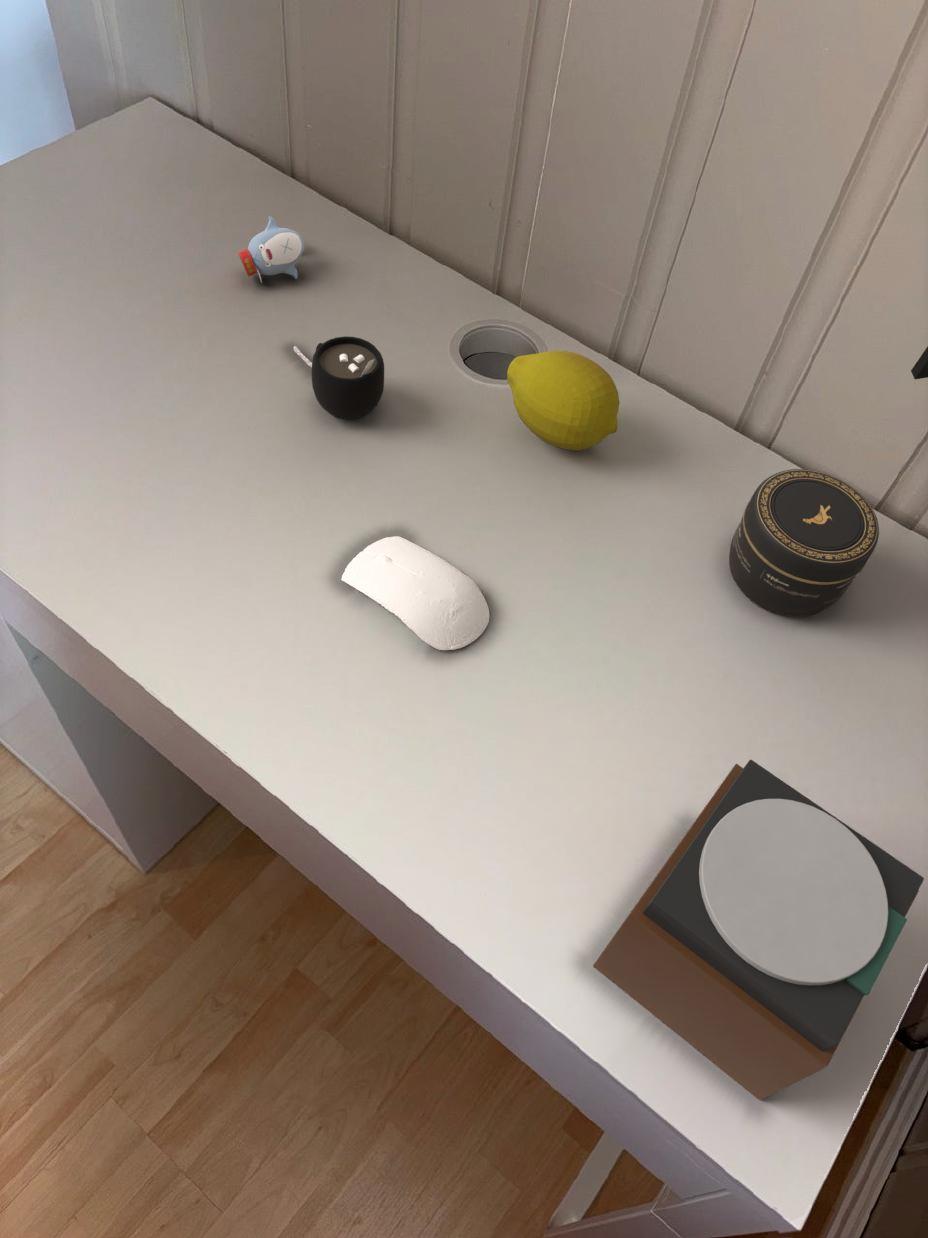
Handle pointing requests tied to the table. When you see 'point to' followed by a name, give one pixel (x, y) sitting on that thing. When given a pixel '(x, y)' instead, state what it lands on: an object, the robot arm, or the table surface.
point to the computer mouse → (420, 592)
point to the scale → (762, 931)
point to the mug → (347, 376)
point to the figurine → (273, 251)
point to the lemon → (564, 398)
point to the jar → (802, 542)
